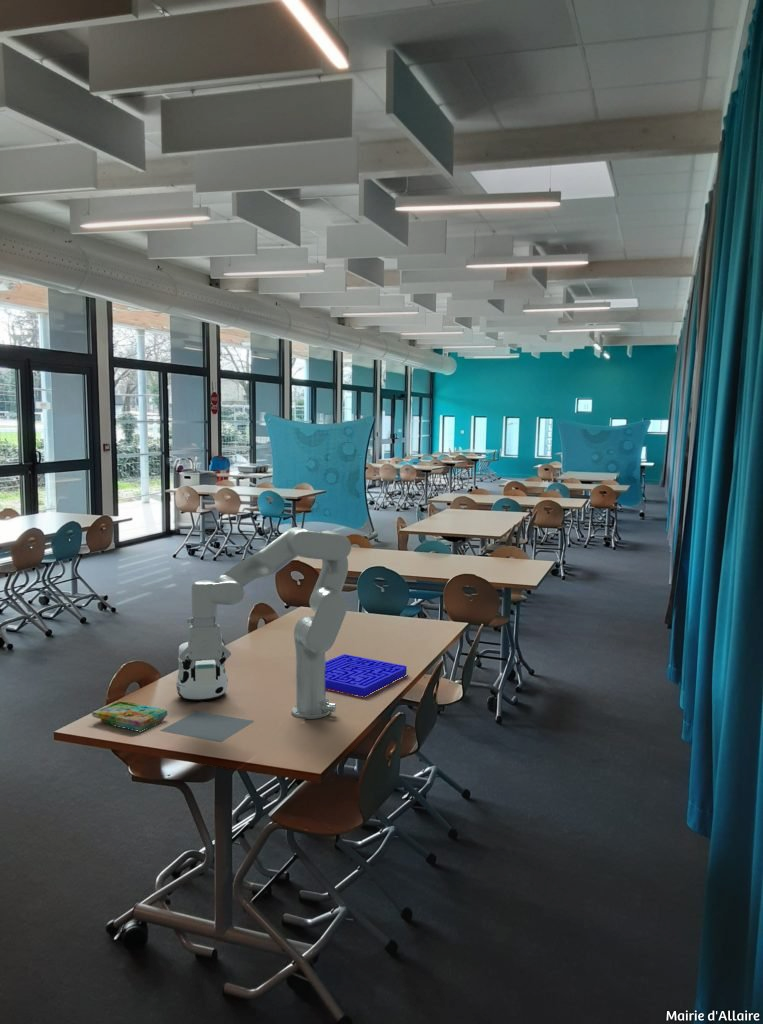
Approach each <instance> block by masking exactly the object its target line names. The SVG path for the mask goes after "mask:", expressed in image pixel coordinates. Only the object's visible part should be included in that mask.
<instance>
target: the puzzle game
mask: <svg viewBox="0 0 763 1024" xmlns="http://www.w3.org/2000/svg"><path fill="white" fill-rule="evenodd" d="M91 716H92V717H93V718H96V719H100V720H101V722H102V723H103V724H104V723H105V724H104V725H108V724H110V725H109V726H112V725H116V726H120V727H125V728H129V729H133V730H138V731H142V730H144V729H146V728H148V729H150V728H149V727H151V726H153V725H155V724H157V725H158V723H159V724H161V723H163V722H164V720H165V719H166V717H167V716H168V710H167V709H165V708H160V707H159V708H158V707H154V706H150V705H144V704H141V703H140V704H139V703H134V702H130V701H123V700H118V701H116V702H113V703H111V704H108V705H105V706H103V707H102V708H101V707H100V708H99V709H97V710H94V711H92V712H91ZM160 722H161V723H160ZM116 726H115V727H116ZM155 726H156V725H155ZM120 727H119V728H120ZM153 727H154V726H153ZM125 728H124V729H125ZM151 728H152V727H151ZM129 729H128V730H129ZM133 730H132V731H133ZM146 730H147V729H146ZM138 731H137V732H138ZM144 731H145V730H144ZM142 732H143V731H142Z"/></svg>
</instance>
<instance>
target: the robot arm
mask: <svg viewBox="0 0 763 1024" xmlns="http://www.w3.org/2000/svg"><path fill="white" fill-rule="evenodd" d="M351 551H352V543H351V541H350V539H349V538H348V537H347V536H346V535H344V534H342V533H339V532H336V531H333V530H329V529H328V530H327V529H326V530H322V531H321V532H320V531H313V530H307V529H305V528H302V527H298V526H294V527H292V528H289V529H287V530H286V531H284V532H283V533H281V534H280V535H279V536H278V537H276V538H275V539H274V540H272V541H271V542H270V543H269V544H267V545H265V547H264V548H262V549H261V550H259V551H257V552H255V553H254V554H251V555H250V556H249V557H247V558H245V559H243V560H241V561H239V562H238V563H236V564H234V565H232V567H230V568H229V569H227V570H226V571H225V572H223V573H222V574H221V575H219V576H218V577H217V578H216V579H215V581H214V580H210V579H209V580H208V579H203V580H202V579H201V580H197V581H195V582H194V581H193V583H192V585H191V617H190V618H186V619H187V620H186V622H187V623H188V624H191V625H190V626H189V628H188V638H187V642H188V647H187V648H186V649H185V650H184V651H183V652H182V653H181V654H180V656H179V655H178V658H180V659H181V660H183V661H184V662H185V663H186V664H187V665H188V666H189V667H190V668H191V678H193V681H195V663H196V660H210V659H214V660H215V662H216V680H218V676H220V666H221V665H222V664H223V663H224V662H225V663H226V661H227V660H228V658H230V656H231V655H232V652H231V651H230V650H229V649H228V648H227V647H225V645H224V646H223V645H222V643H223V637H222V628H221V625H220V624H219V623H218V605H224V606H234V605H238V604H239V603H240V602H241V601H242V600H243V599H244V597H245V589H244V587H246V585H248V584H250V583H251V582H253V581H255V580H257V579H259V578H264V577H269V576H273V575H274V574H276V573H278V572H279V571H280V570H282V569H283V568H284V567H285V566H287V565H288V564H289V563H291V562H292V561H293V560H295V559H296V558H297V557H300V558H305V559H306V558H307V559H313V560H321V561H322V564H321V570H320V572H319V575H318V578H317V580H316V582H315V585H314V587H313V590H312V593H311V595H310V598H309V601H308V603H309V607H310V609H311V610H312V611H313V612H314V616H311V615H305V616H303V617H301V618H300V619H299V620H298V621H297V622H296V624H295V627H294V629H293V638H294V639H293V641H294V647H295V679H296V680H295V683H296V684H295V689H296V690H295V692H296V693H295V695H296V696H295V699H296V702H295V706H293V707H292V708H291V714H292V716H294V717H295V718H299V719H305V720H313V719H315V720H316V719H321V718H324V717H327V716H328V715H330V713H331V712H332V713H335V712H336V710H337V707H336V706H337V704H336V703H331V702H329V697H326V695H327V694H326V690H327V689H326V671H325V666H326V661H327V660H326V653H327V652H328V651H329V650H330V649H331V648H332V647H333V645H334V644H335V641H336V639H337V637H338V634H339V632H340V630H341V627H342V625H343V622H344V620H345V616H346V614H347V611H348V602H347V599H346V597H345V595H344V594H343V593H342V591H343V589H344V588H343V587H344V586H345V583H346V579H347V575H348V572H349V560H348V556H349V555H350V554H351ZM222 651H223V652H224V653H225V655H224V656H223V657H222ZM187 653H188V657H189V659H190V660H191V661H190V660H189V659H188V658H186V655H187ZM221 657H222V658H221ZM231 657H232V656H231ZM219 658H221V659H219Z"/></svg>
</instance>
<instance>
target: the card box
mask: <svg viewBox="0 0 763 1024" xmlns="http://www.w3.org/2000/svg"><path fill="white" fill-rule="evenodd" d="M195 685H196V686H202V685H216V662H215V660H205V661H196V665H195Z"/></svg>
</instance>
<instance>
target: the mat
mask: <svg viewBox="0 0 763 1024" xmlns="http://www.w3.org/2000/svg"><path fill="white" fill-rule="evenodd" d="M254 722H255V720H252V719H251V720H250V719H245V718H240V717H233V716H227V715H223V714H217V713H211V712H203V711H199V710H196V711H194V712H192V713H190V714H189V715H186V716H185V717H183V718H180V719H179V720H177V721H175V722H173V723H172V724H170V725H168V726H166V727H164V728H162V729H160V731H161V732H165V733H171V734H174V735H175V734H176V735H181V736H187V737H191V738H196V739H201V740H207V741H212V742H219V743H222V742H224V741H226V740H227V739H229V738H230V737H231V736H232V737H233V735H234V734H236V733H238V732H239V731H241V730H243V729H245V728H246V727H248V726H249V725H251V724H252V723H254Z"/></svg>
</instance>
